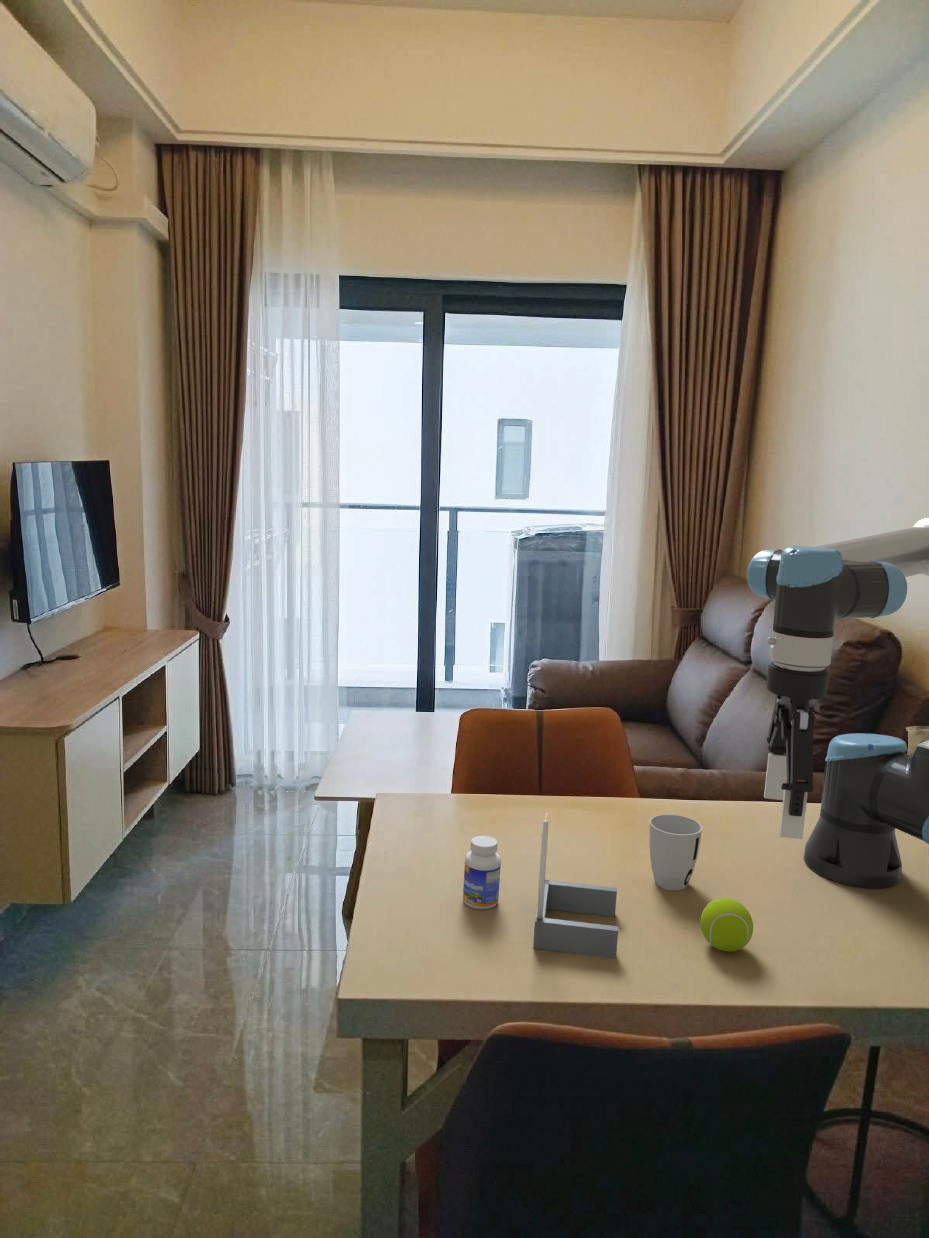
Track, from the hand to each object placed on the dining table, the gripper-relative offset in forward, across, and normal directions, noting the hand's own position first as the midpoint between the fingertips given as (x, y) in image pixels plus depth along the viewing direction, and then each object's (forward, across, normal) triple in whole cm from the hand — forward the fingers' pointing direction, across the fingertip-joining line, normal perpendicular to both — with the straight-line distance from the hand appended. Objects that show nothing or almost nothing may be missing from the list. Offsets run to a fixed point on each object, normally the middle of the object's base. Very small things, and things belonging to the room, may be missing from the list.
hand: (781, 816), depth 118 cm
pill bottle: (+20, -2, -41) cm, 46 cm away
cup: (+20, -16, -13) cm, 28 cm away
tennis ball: (+20, +2, -6) cm, 20 cm away
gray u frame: (+19, +2, -26) cm, 32 cm away
